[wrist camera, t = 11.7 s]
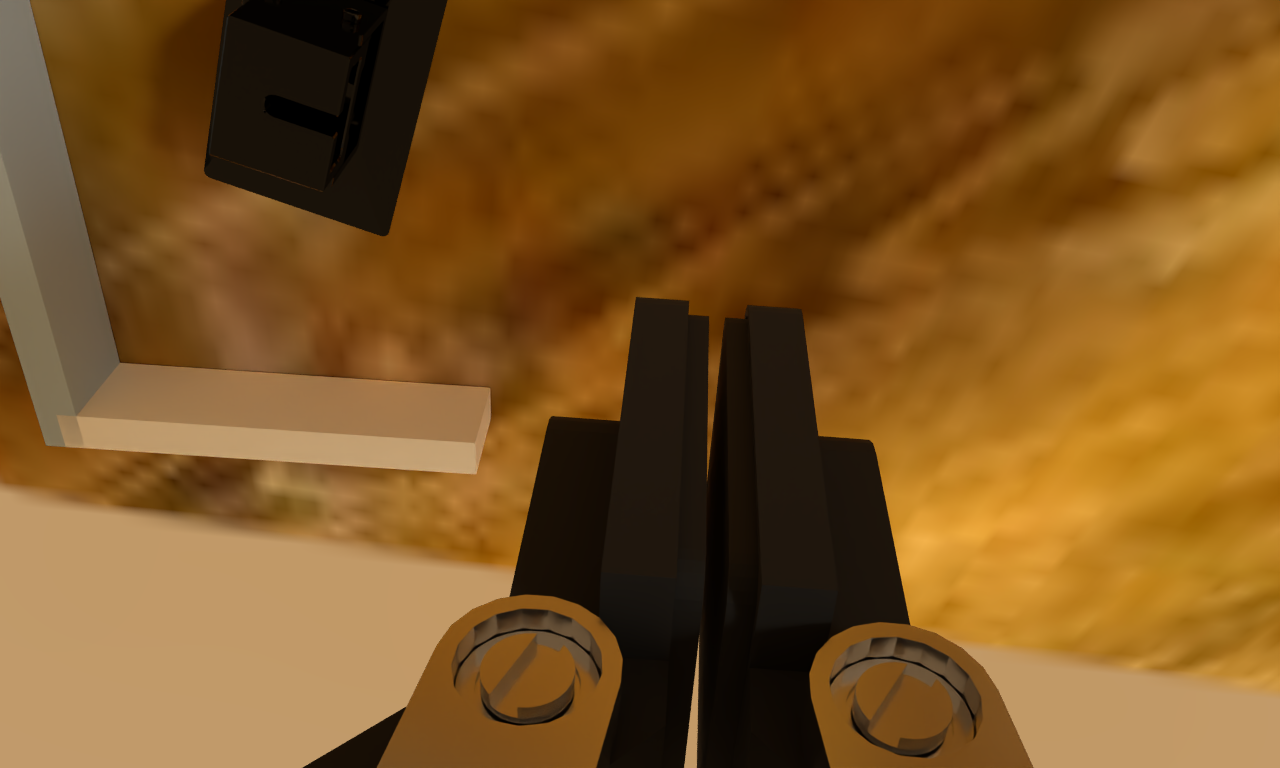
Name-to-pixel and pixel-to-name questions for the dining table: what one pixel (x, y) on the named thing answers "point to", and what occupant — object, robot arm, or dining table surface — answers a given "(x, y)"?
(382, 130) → the black boxy piece
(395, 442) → the u-shaped wooden bracket
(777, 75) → the dining table surface
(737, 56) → the dining table surface
